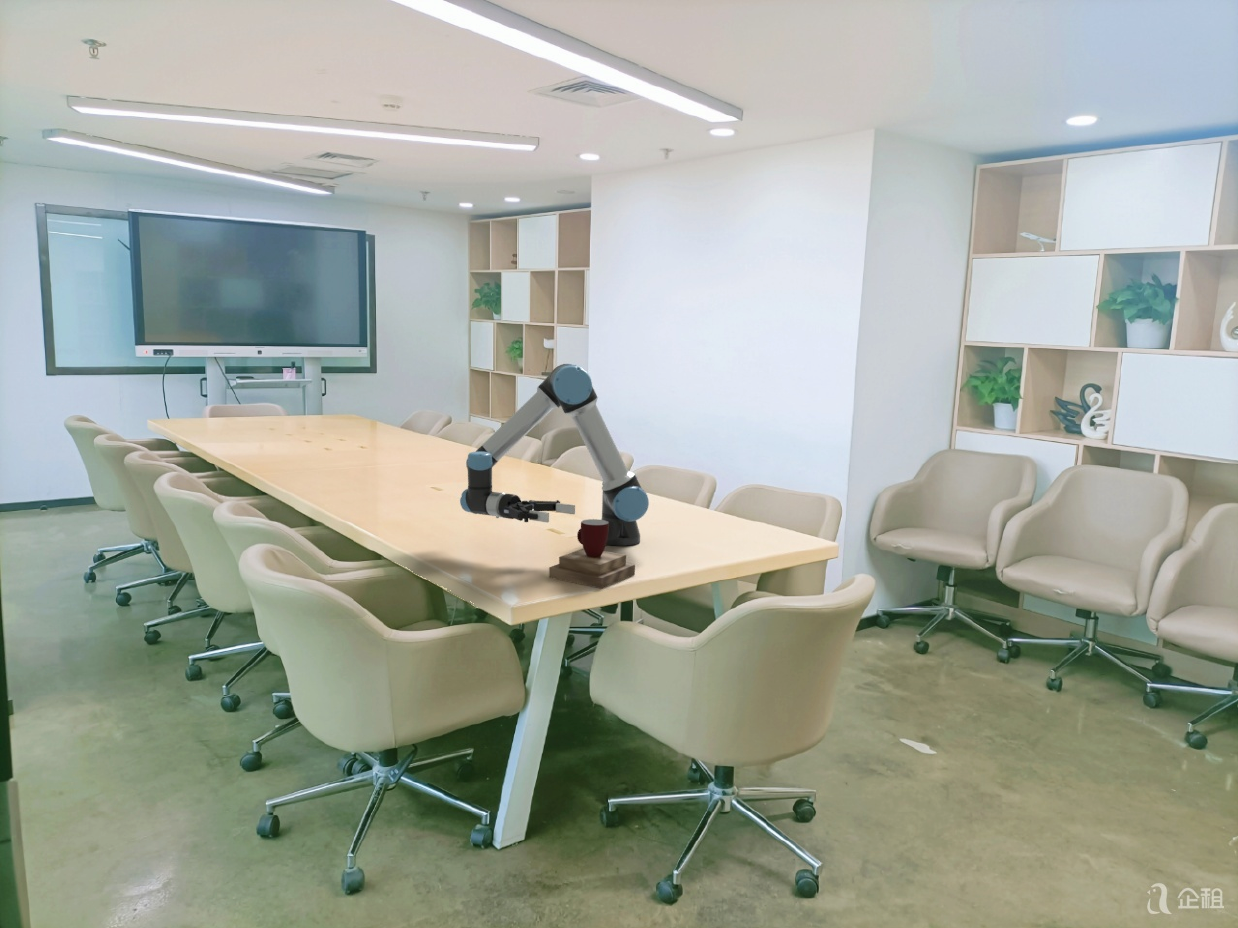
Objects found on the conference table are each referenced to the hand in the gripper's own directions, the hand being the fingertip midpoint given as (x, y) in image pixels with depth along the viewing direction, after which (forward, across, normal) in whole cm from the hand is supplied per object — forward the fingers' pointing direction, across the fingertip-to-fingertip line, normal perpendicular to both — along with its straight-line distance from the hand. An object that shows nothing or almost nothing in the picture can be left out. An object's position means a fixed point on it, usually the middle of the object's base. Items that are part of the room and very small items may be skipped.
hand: (561, 513), depth 255 cm
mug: (+10, +1, -11) cm, 15 cm away
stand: (+12, +1, -17) cm, 20 cm away
